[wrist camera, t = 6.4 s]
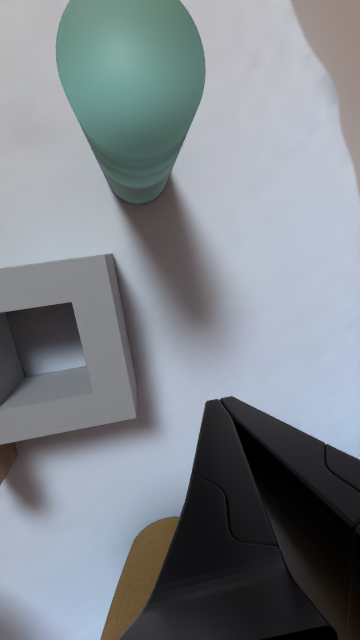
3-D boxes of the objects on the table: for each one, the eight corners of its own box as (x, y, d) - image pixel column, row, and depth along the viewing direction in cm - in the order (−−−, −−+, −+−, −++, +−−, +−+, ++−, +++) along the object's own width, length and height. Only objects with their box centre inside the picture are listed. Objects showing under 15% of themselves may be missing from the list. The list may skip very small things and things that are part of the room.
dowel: (171, 200, 19) (211, 141, 8) (111, 207, 19) (74, 155, 8) (162, 133, 18) (196, -32, 7) (99, 139, 17) (37, -27, 7)
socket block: (136, 384, 22) (136, 417, 18) (2, 409, 21) (-34, 451, 17) (112, 253, 19) (104, 255, 15) (-44, 274, 18) (-100, 282, 14)
